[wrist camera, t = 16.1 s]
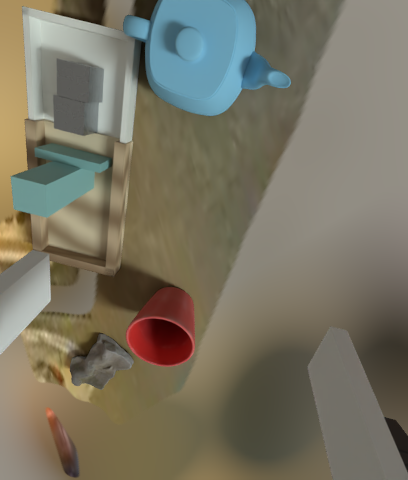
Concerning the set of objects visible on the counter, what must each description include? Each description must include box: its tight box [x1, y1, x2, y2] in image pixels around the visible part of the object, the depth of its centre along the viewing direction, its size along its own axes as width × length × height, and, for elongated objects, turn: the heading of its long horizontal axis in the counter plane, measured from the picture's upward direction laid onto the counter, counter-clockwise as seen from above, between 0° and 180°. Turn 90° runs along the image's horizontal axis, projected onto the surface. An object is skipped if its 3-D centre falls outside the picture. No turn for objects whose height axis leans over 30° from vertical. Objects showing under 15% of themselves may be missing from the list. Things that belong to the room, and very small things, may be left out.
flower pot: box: [126, 287, 195, 366], centre depth 50 cm, size 11×11×10 cm
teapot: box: [123, 0, 291, 116], centre depth 32 cm, size 13×11×18 cm
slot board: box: [25, 119, 133, 277], centre depth 46 cm, size 22×14×3 cm, turn 168°
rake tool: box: [11, 143, 112, 218], centre depth 38 cm, size 5×9×12 cm, turn 78°
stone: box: [70, 334, 134, 390], centre depth 62 cm, size 15×10×4 cm, turn 136°
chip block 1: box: [57, 58, 104, 103], centre depth 37 cm, size 4×4×4 cm
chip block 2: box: [53, 95, 99, 136], centre depth 39 cm, size 4×4×4 cm
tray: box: [22, 6, 142, 144], centre depth 38 cm, size 12×14×2 cm
